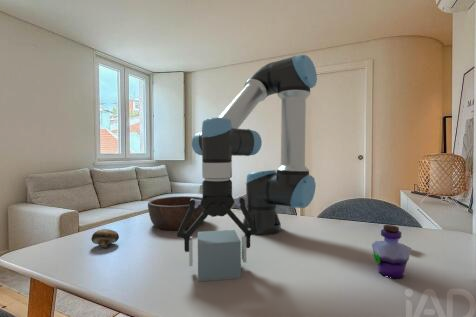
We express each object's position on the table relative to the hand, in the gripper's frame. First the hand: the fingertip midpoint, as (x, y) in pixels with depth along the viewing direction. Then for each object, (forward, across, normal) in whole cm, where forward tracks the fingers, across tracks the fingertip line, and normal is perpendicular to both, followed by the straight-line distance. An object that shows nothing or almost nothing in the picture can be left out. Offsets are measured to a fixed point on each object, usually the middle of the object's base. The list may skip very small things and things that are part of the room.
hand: (217, 262), depth 69 cm
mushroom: (+2, +35, -25) cm, 43 cm away
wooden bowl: (+3, +13, -49) cm, 51 cm away
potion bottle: (+2, -42, +9) cm, 43 cm away
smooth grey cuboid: (+2, 0, 0) cm, 2 cm away
